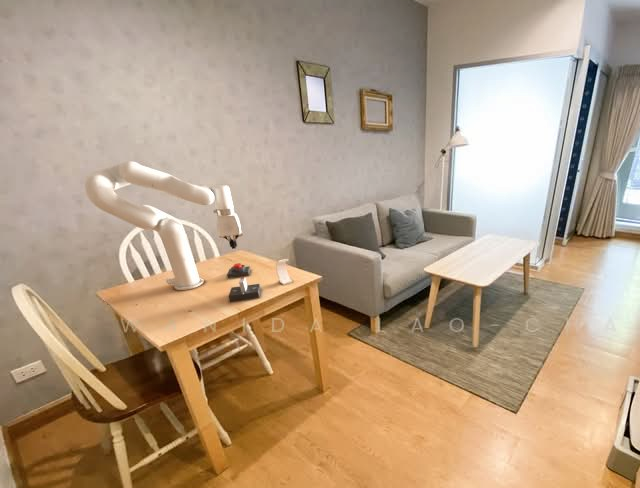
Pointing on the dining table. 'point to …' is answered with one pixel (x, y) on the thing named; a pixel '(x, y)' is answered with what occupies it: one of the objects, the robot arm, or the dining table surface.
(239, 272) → the button block
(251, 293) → the device
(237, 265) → the button
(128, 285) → the dining table surface
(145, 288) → the dining table surface
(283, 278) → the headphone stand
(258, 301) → the dining table surface
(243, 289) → the grey rectangular block
